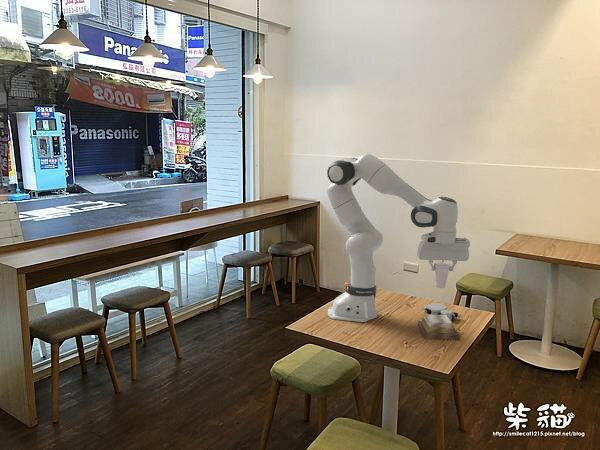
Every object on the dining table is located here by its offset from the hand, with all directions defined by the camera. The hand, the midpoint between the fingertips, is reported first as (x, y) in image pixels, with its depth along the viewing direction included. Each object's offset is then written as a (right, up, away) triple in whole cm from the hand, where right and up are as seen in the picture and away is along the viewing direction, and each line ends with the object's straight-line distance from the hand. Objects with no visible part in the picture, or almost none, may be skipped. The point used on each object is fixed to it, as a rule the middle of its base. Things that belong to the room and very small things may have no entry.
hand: (441, 270), depth 202 cm
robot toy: (+6, -24, +22) cm, 33 cm away
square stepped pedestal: (0, -26, +5) cm, 27 cm away
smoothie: (0, -7, +1) cm, 7 cm away
